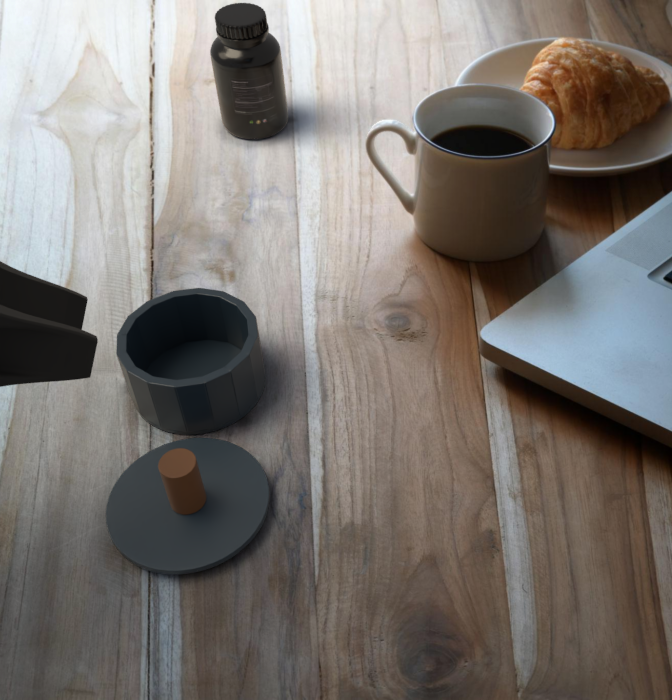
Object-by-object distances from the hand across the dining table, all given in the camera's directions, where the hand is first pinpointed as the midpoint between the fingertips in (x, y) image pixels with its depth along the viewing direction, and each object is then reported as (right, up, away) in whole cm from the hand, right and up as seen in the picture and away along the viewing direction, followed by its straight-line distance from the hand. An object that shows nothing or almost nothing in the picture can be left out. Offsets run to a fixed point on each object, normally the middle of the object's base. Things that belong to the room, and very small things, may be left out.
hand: (88, 334), depth 50 cm
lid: (+2, -11, +14) cm, 18 cm away
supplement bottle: (-1, +23, +47) cm, 52 cm away
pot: (0, -3, +22) cm, 22 cm away
